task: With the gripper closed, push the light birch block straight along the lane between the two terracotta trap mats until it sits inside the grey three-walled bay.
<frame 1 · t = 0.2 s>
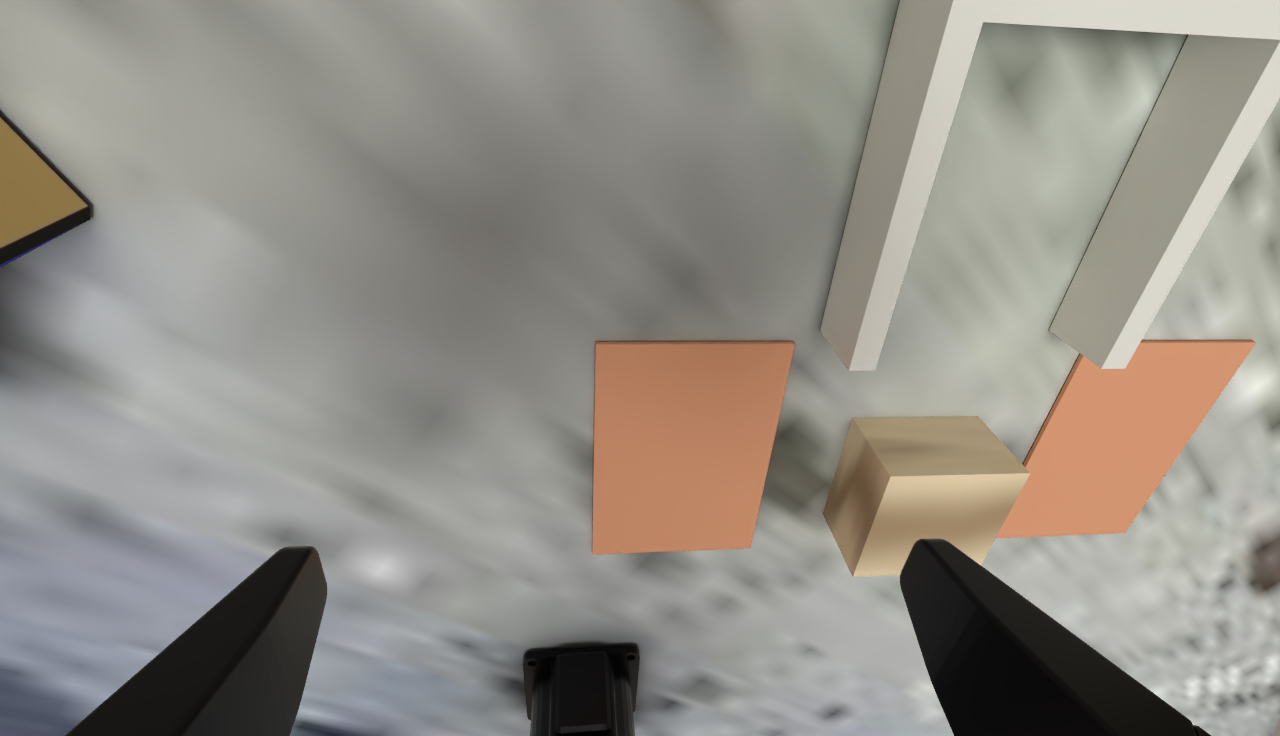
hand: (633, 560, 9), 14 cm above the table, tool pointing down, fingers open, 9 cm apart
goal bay: (1007, 169, 21), on the table
block: (895, 464, 29), on the table
trap mats: (903, 451, 28), on the table
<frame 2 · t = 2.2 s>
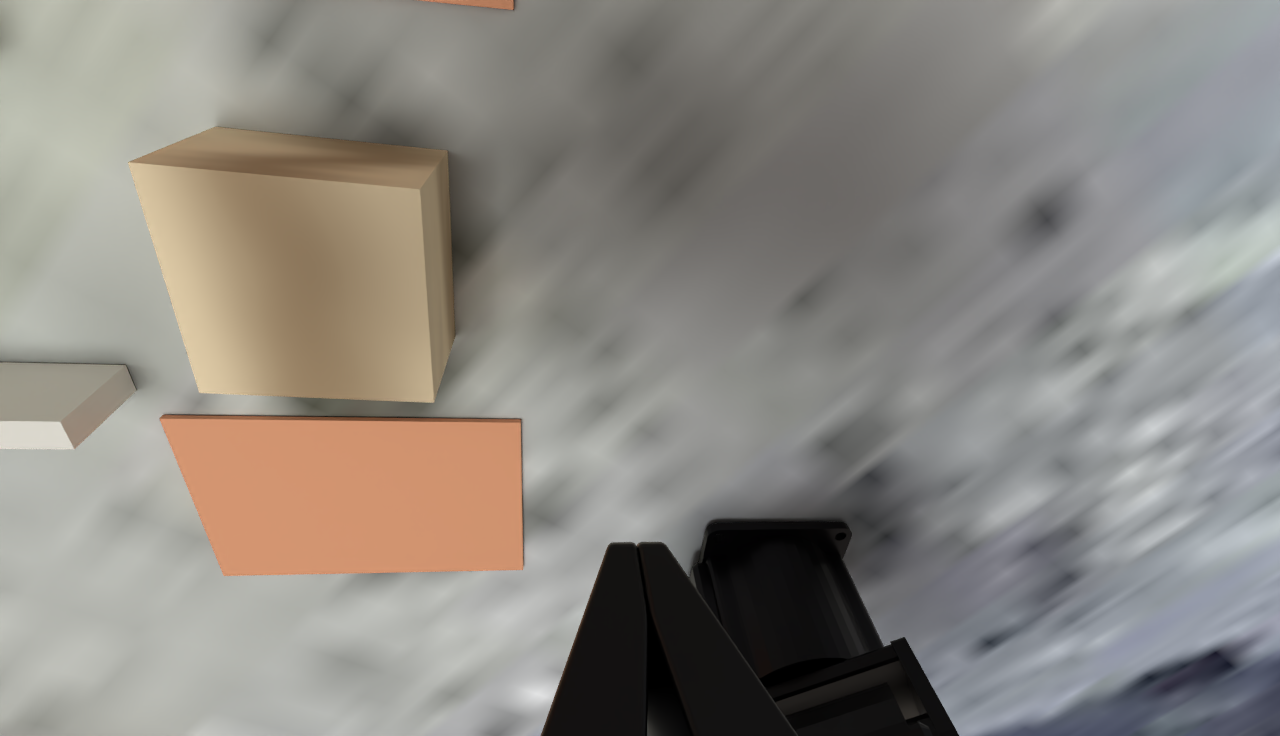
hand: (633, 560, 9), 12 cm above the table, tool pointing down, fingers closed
block: (350, 240, 18), on the table
trap mats: (312, 242, 18), on the table
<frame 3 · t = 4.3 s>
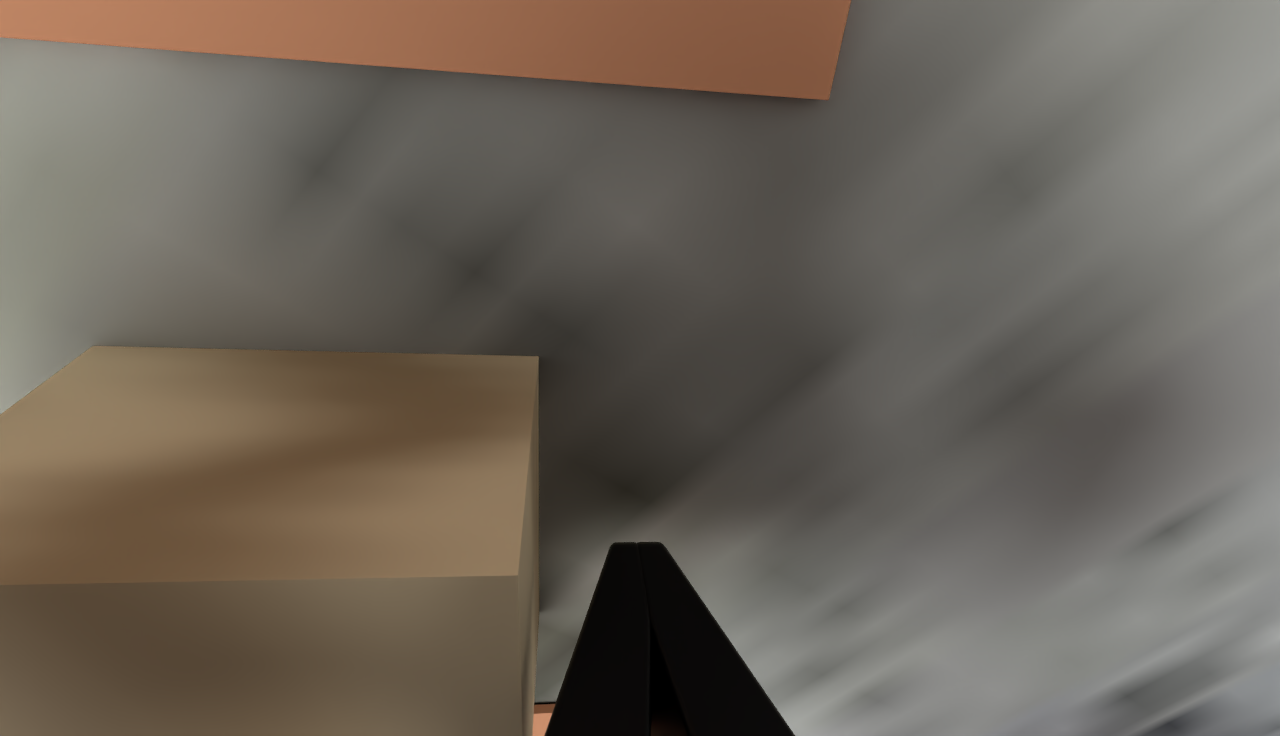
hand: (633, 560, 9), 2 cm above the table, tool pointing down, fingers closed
block: (358, 504, 10), on the table, touching gripper
trap mats: (385, 494, 10), on the table
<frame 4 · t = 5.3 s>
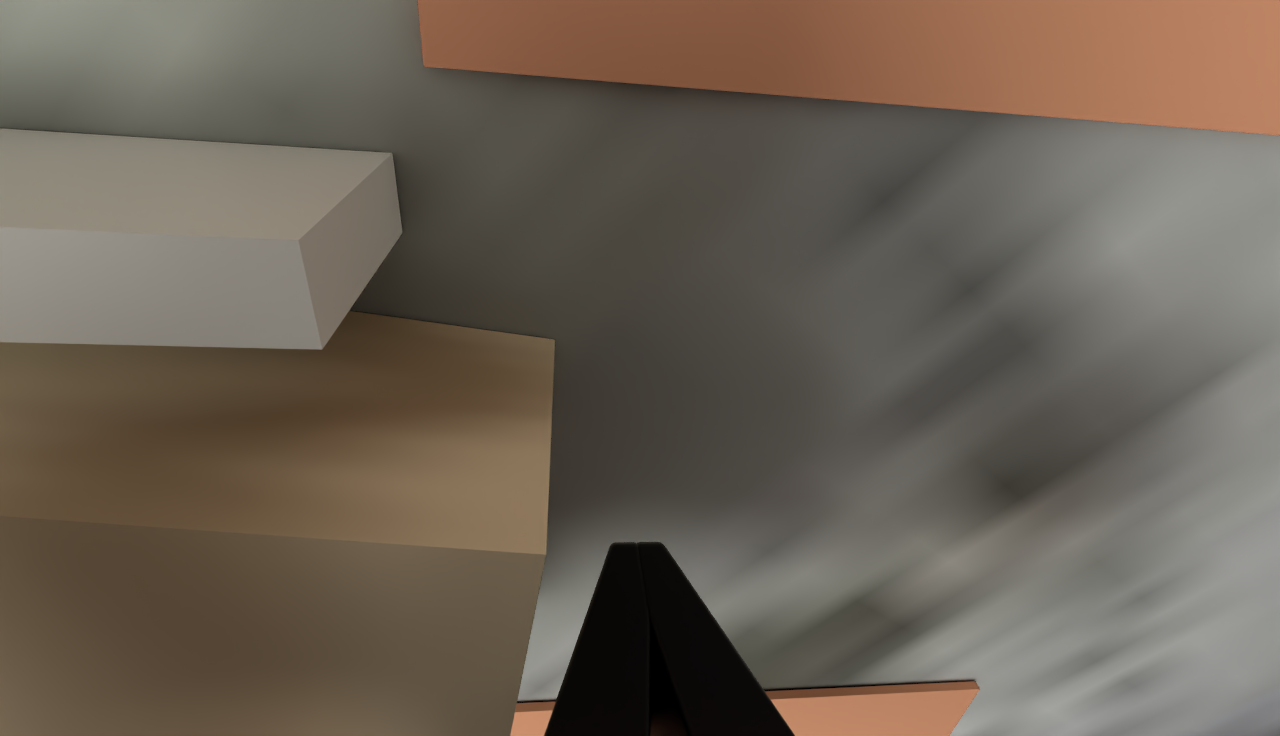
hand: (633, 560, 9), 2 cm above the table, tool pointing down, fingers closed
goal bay: (0, 493, 9), on the table
block: (343, 473, 10), on the table, touching gripper
trap mats: (804, 489, 11), on the table
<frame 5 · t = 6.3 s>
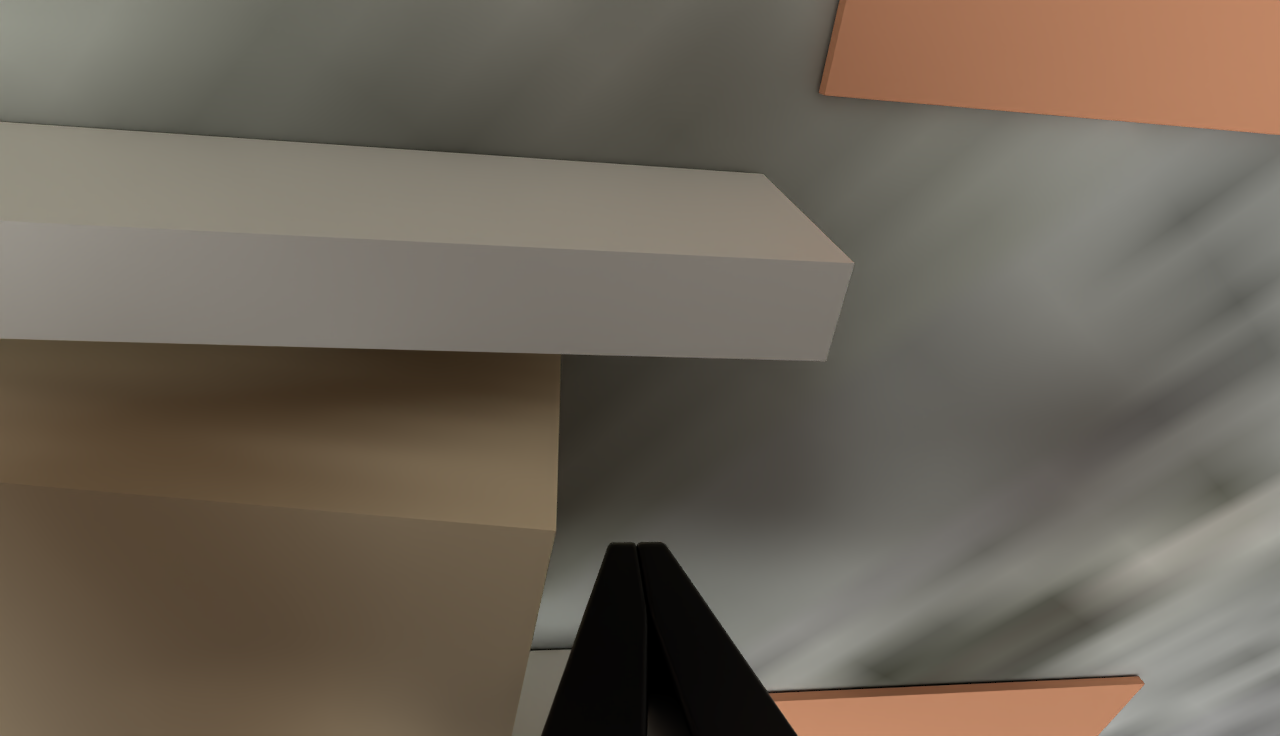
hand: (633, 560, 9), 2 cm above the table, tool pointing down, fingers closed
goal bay: (310, 491, 10), on the table
block: (350, 458, 10), on the table
trap mats: (1036, 490, 12), on the table
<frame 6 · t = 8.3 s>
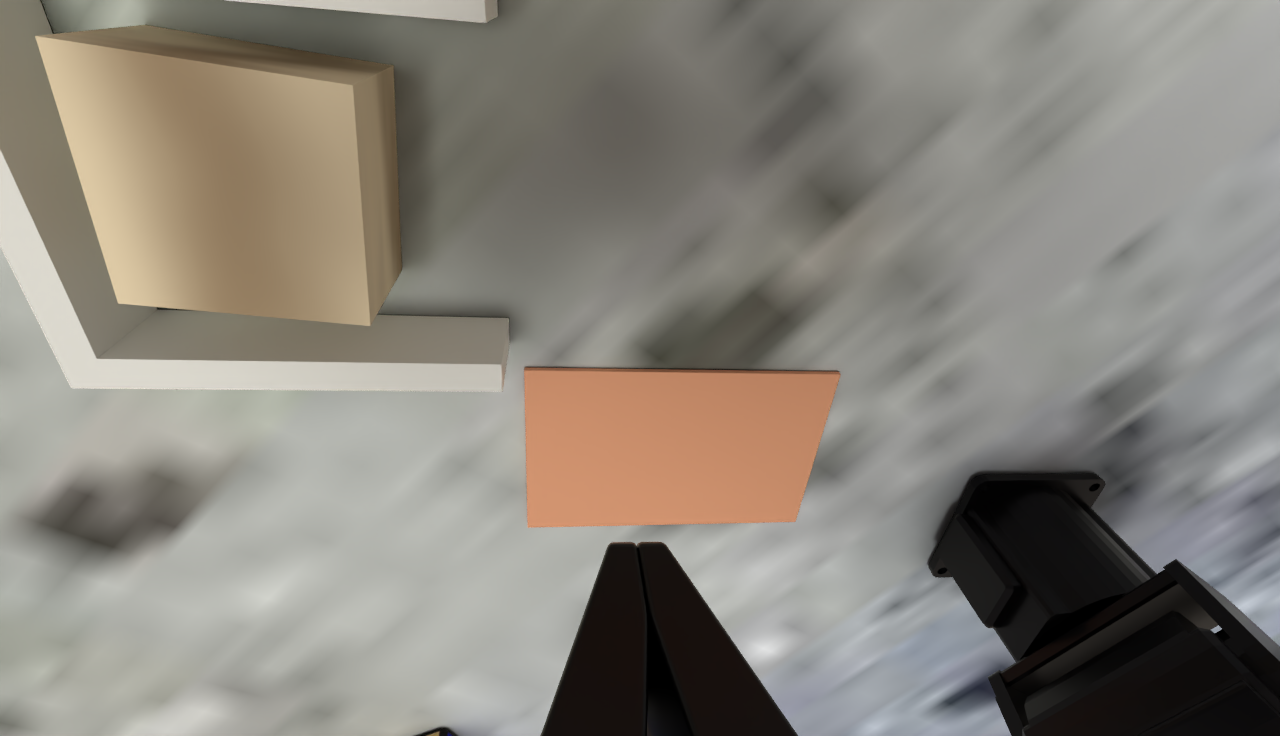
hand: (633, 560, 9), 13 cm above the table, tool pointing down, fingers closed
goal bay: (275, 174, 18), on the table
block: (291, 160, 18), on the table
trap mats: (712, 197, 19), on the table
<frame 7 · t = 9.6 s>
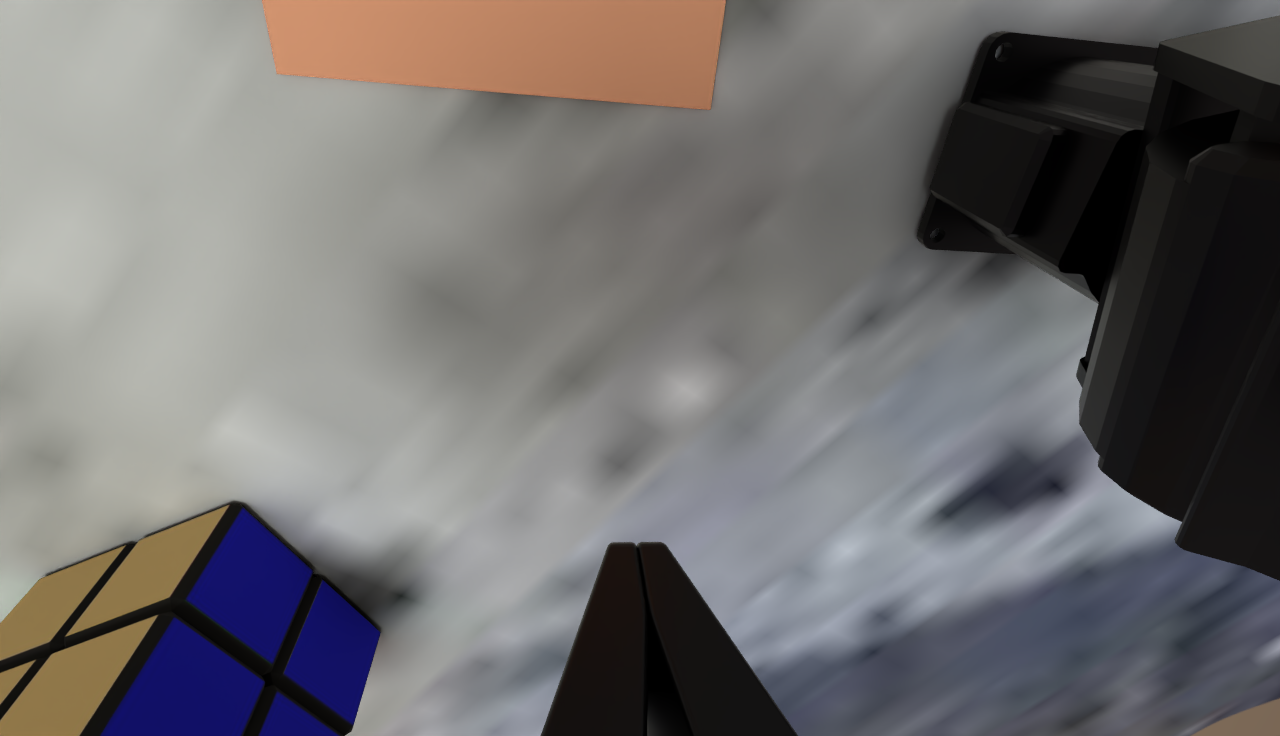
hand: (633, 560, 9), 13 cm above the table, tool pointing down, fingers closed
puzzle cube: (227, 600, 28), on the table
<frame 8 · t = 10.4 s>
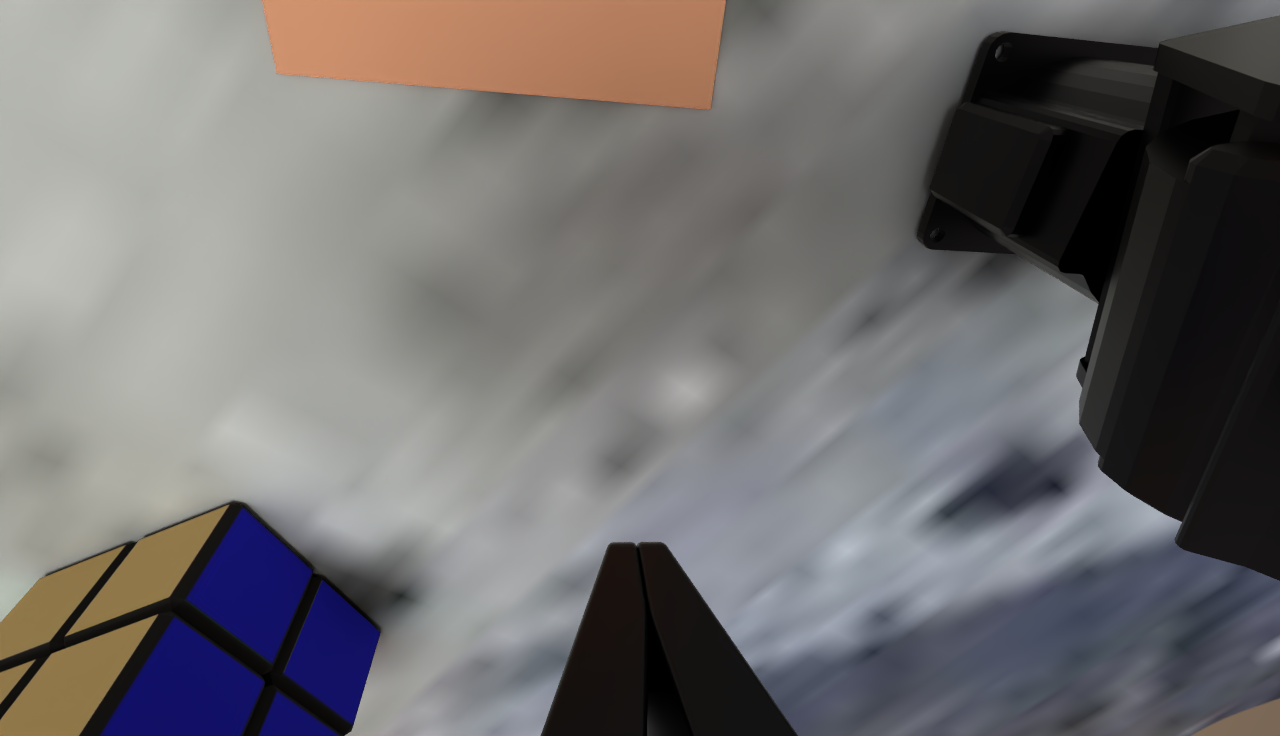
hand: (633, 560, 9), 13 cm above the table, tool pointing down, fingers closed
puzzle cube: (227, 600, 28), on the table
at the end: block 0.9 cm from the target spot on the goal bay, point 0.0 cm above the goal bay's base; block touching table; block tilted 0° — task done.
